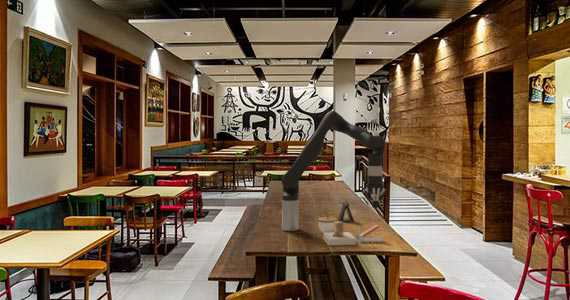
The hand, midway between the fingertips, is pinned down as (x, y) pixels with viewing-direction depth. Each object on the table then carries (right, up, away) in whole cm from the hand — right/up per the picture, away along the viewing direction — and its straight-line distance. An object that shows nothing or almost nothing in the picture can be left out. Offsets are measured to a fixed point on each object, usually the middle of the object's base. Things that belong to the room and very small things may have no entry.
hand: (375, 208), depth 224 cm
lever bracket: (-3, -17, 0) cm, 17 cm away
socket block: (-19, -17, -1) cm, 25 cm away
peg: (-19, -17, -1) cm, 25 cm away
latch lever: (-3, -13, 0) cm, 13 cm away
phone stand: (-8, -15, +50) cm, 53 cm away
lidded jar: (-23, -17, +19) cm, 34 cm away
